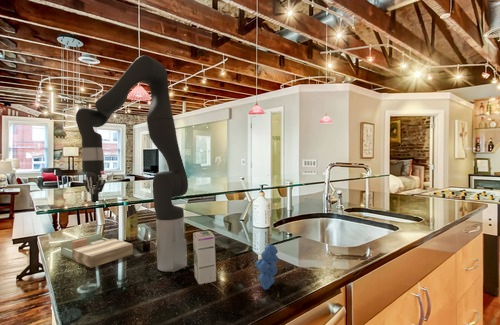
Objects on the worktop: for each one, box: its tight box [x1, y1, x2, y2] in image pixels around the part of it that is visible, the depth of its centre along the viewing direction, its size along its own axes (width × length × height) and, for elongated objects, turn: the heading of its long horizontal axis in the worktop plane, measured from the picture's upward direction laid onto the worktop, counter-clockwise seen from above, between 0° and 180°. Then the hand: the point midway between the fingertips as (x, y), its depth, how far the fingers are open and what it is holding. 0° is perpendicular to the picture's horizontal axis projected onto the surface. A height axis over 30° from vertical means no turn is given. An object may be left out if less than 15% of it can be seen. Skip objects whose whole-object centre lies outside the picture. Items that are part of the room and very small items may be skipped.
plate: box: [72, 238, 134, 269], centre depth 109 cm, size 14×16×4 cm
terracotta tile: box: [72, 238, 88, 249], centre depth 113 cm, size 5×5×2 cm
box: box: [60, 232, 110, 261], centre depth 116 cm, size 10×16×5 cm, turn 145°
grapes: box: [254, 243, 280, 290], centre depth 83 cm, size 12×7×12 cm, turn 157°
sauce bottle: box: [126, 204, 139, 242], centre depth 131 cm, size 7×6×20 cm
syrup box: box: [192, 230, 217, 285], centre depth 88 cm, size 6×6×14 cm
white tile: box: [89, 240, 104, 245], centre depth 120 cm, size 5×5×2 cm
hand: (95, 203), depth 112 cm, fingers closed
